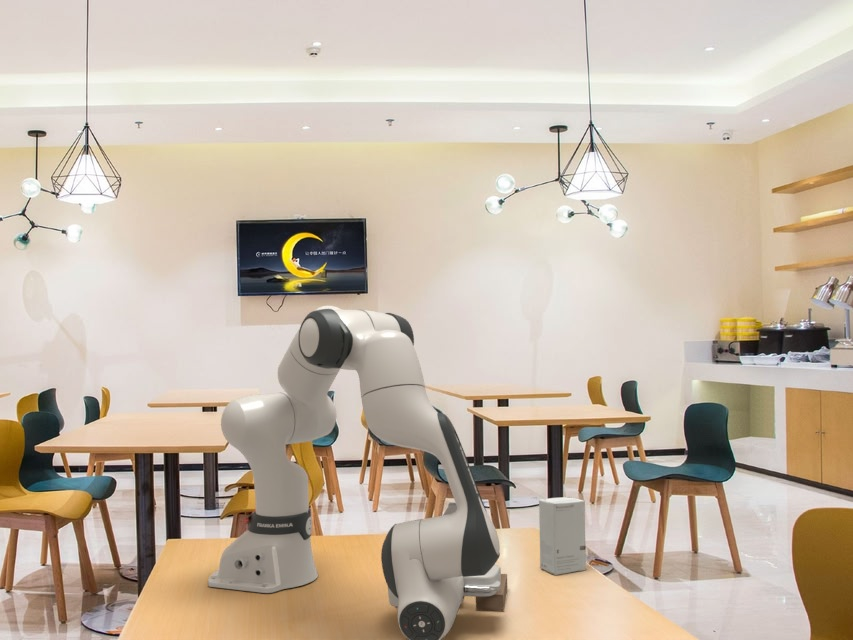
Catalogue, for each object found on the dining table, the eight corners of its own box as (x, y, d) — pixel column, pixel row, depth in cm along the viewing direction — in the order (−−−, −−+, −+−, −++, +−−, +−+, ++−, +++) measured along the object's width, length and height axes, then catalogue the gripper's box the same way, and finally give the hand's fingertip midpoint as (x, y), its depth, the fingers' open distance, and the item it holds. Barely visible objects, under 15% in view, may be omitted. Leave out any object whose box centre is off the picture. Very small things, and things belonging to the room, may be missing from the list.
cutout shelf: (395, 607, 140) (395, 591, 140) (407, 586, 151) (407, 571, 151) (503, 611, 136) (503, 594, 136) (507, 589, 148) (507, 574, 148)
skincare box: (554, 576, 156) (553, 504, 156) (538, 568, 161) (536, 498, 161) (588, 570, 159) (586, 499, 159) (571, 562, 165) (569, 494, 165)
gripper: (499, 572, 126) (504, 549, 139) (379, 568, 129) (396, 545, 143) (499, 610, 126) (505, 583, 139) (380, 605, 129) (397, 579, 143)
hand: (449, 564), depth 141 cm, fingers closed on pill bottle, 6 cm apart
